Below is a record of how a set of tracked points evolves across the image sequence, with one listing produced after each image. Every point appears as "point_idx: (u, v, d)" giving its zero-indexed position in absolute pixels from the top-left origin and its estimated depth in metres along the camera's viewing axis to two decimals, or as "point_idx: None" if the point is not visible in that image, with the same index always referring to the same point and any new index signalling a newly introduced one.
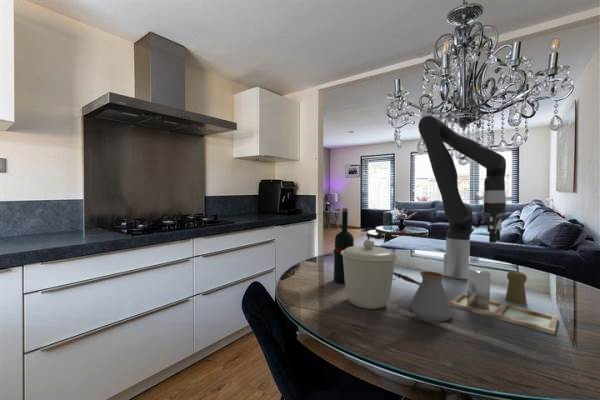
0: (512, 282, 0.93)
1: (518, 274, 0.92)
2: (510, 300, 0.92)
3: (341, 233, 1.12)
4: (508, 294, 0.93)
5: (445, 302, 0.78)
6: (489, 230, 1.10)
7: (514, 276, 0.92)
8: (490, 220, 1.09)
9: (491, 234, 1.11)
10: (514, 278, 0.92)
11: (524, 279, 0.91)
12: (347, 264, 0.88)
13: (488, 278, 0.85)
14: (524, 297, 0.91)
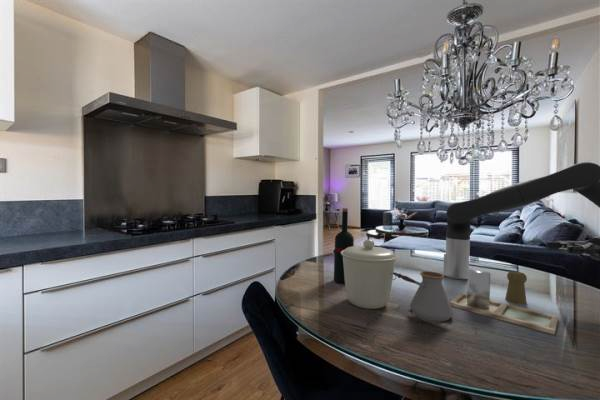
0: (512, 282, 0.93)
1: (518, 274, 0.92)
2: (510, 300, 0.92)
3: (341, 233, 1.12)
4: (508, 294, 0.93)
5: (444, 302, 0.78)
6: (593, 250, 0.84)
7: (514, 276, 0.92)
8: None
9: (582, 250, 0.86)
10: (514, 278, 0.92)
11: (524, 279, 0.91)
12: (347, 264, 0.88)
13: (488, 278, 0.85)
14: (524, 297, 0.91)
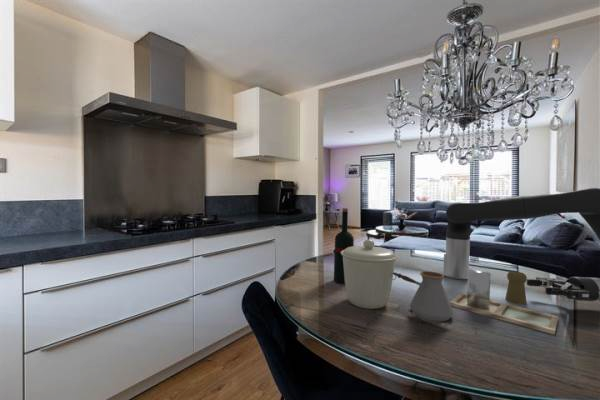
0: (512, 282, 0.93)
1: (518, 274, 0.92)
2: (510, 300, 0.92)
3: (341, 233, 1.12)
4: (508, 294, 0.93)
5: (445, 302, 0.78)
6: (570, 293, 0.85)
7: (514, 276, 0.92)
8: (584, 295, 0.85)
9: (560, 291, 0.87)
10: (514, 278, 0.92)
11: (524, 279, 0.91)
12: (347, 264, 0.88)
13: (488, 278, 0.85)
14: (524, 297, 0.91)
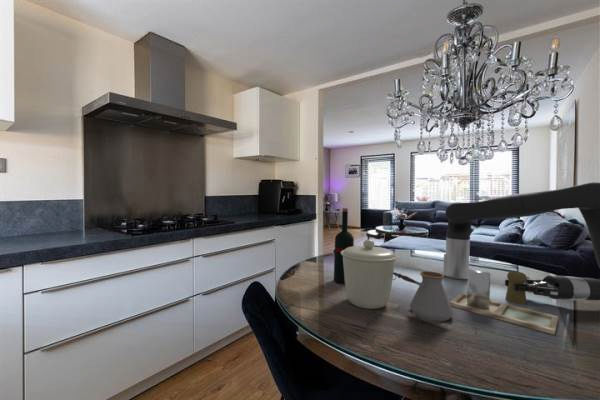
0: (512, 282, 0.93)
1: (518, 274, 0.92)
2: (510, 300, 0.92)
3: (341, 233, 1.12)
4: (508, 294, 0.93)
5: (444, 302, 0.78)
6: (536, 289, 0.88)
7: (514, 276, 0.92)
8: (552, 292, 0.86)
9: (527, 288, 0.90)
10: (514, 278, 0.92)
11: (524, 279, 0.91)
12: (347, 264, 0.88)
13: (488, 278, 0.85)
14: (524, 297, 0.91)
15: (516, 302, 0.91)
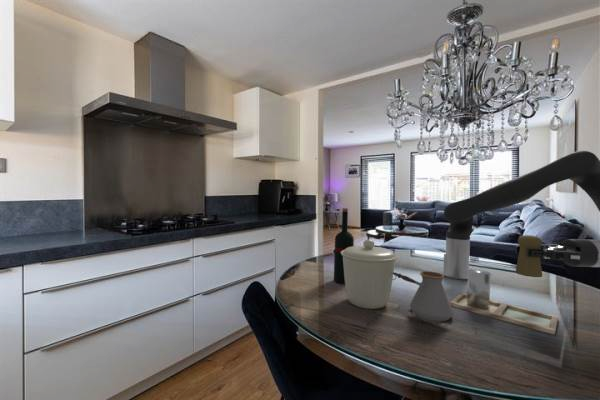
0: (524, 247, 0.79)
1: (531, 237, 0.78)
2: (522, 269, 0.78)
3: (341, 233, 1.12)
4: (520, 262, 0.79)
5: (444, 302, 0.78)
6: (553, 253, 0.74)
7: (527, 240, 0.78)
8: (572, 256, 0.72)
9: (542, 253, 0.76)
10: (526, 243, 0.78)
11: (539, 243, 0.77)
12: (347, 264, 0.88)
13: (488, 278, 0.85)
14: (539, 264, 0.77)
15: (529, 270, 0.77)
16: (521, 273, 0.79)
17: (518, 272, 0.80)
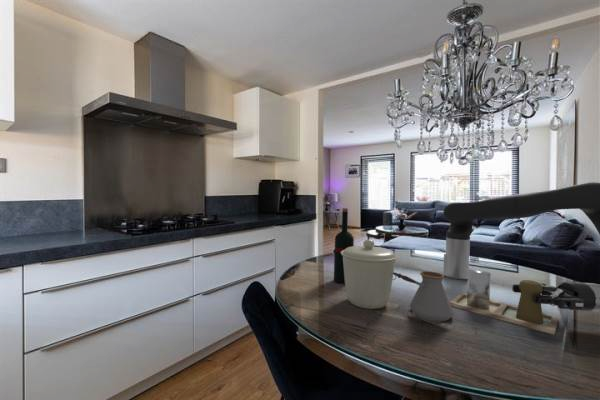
0: (525, 293, 0.78)
1: (533, 284, 0.77)
2: (523, 315, 0.78)
3: (341, 233, 1.12)
4: (520, 307, 0.79)
5: (445, 302, 0.78)
6: (562, 301, 0.72)
7: (528, 286, 0.77)
8: (578, 304, 0.72)
9: (549, 300, 0.74)
10: (528, 289, 0.77)
11: (540, 290, 0.76)
12: (347, 264, 0.88)
13: (488, 278, 0.85)
14: (540, 311, 0.77)
15: (530, 317, 0.77)
16: (522, 319, 0.78)
17: (519, 318, 0.79)
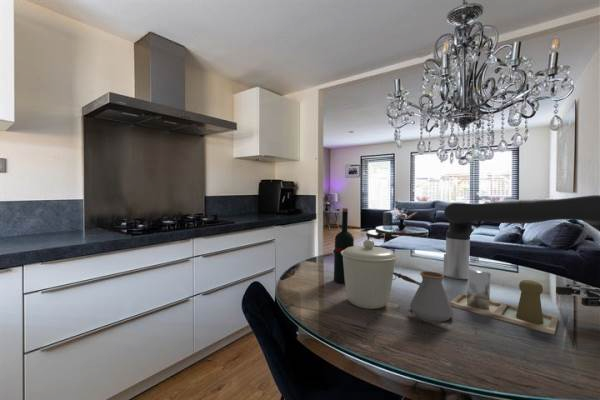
0: (525, 293, 0.78)
1: (533, 284, 0.77)
2: (523, 315, 0.78)
3: (341, 233, 1.12)
4: (520, 307, 0.79)
5: (445, 302, 0.78)
6: None
7: (528, 286, 0.77)
8: None
9: (599, 302, 0.73)
10: (528, 289, 0.77)
11: (540, 290, 0.76)
12: (347, 264, 0.88)
13: (488, 278, 0.85)
14: (540, 311, 0.77)
15: (530, 317, 0.77)
16: (522, 319, 0.78)
17: (519, 318, 0.79)
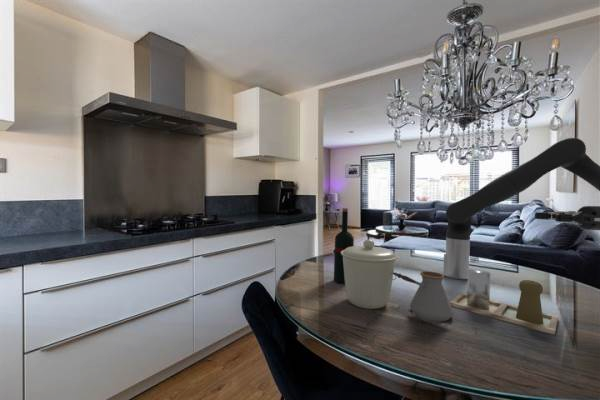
0: (525, 293, 0.78)
1: (533, 284, 0.77)
2: (523, 315, 0.78)
3: (341, 233, 1.12)
4: (521, 307, 0.79)
5: (444, 302, 0.78)
6: (582, 217, 0.81)
7: (528, 286, 0.77)
8: (596, 219, 0.81)
9: (570, 217, 0.83)
10: (528, 289, 0.77)
11: (540, 290, 0.76)
12: (347, 264, 0.88)
13: (488, 278, 0.85)
14: (540, 311, 0.77)
15: (530, 317, 0.77)
16: (522, 319, 0.78)
17: (519, 318, 0.79)
